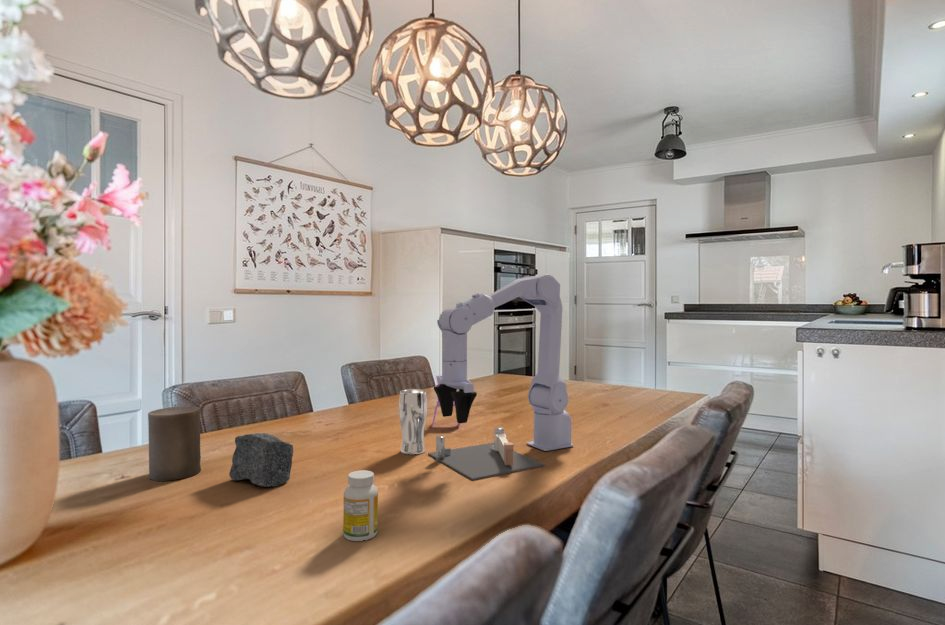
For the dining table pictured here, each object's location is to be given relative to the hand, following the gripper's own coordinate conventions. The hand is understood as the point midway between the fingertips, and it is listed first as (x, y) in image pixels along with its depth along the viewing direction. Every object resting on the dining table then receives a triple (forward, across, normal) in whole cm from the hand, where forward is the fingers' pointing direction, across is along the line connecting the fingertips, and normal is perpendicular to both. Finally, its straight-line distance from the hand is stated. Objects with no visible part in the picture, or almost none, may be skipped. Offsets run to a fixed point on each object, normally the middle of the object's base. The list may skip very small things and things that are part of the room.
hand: (454, 419), depth 118 cm
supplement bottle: (+10, +26, -30) cm, 41 cm away
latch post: (+10, -4, -1) cm, 11 cm away
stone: (+10, -8, -41) cm, 43 cm away
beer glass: (+10, -13, -5) cm, 17 cm away
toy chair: (+10, -34, +14) cm, 38 cm away
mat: (+10, +2, +7) cm, 12 cm away
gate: (+9, +4, +11) cm, 15 cm away
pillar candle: (+10, -21, -56) cm, 61 cm away
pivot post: (+10, -4, +14) cm, 18 cm away
